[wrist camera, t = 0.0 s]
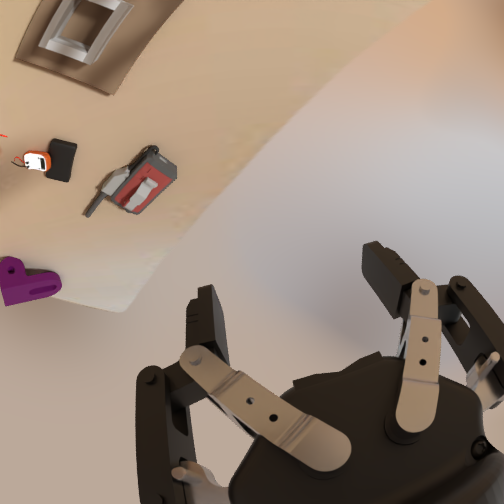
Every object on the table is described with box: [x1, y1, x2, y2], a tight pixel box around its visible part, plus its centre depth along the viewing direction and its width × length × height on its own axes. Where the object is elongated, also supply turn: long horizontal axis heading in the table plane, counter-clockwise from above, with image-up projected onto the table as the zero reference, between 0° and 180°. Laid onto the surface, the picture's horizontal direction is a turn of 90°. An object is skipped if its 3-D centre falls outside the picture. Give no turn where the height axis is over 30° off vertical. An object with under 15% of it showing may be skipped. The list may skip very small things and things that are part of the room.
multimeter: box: [0, 134, 77, 182], centre depth 30 cm, size 18×12×3 cm, turn 51°
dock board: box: [15, 0, 184, 95], centre depth 17 cm, size 18×16×5 cm
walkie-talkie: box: [85, 145, 177, 218], centre depth 42 cm, size 9×4×20 cm
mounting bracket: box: [0, 256, 62, 306], centre depth 51 cm, size 10×8×18 cm
